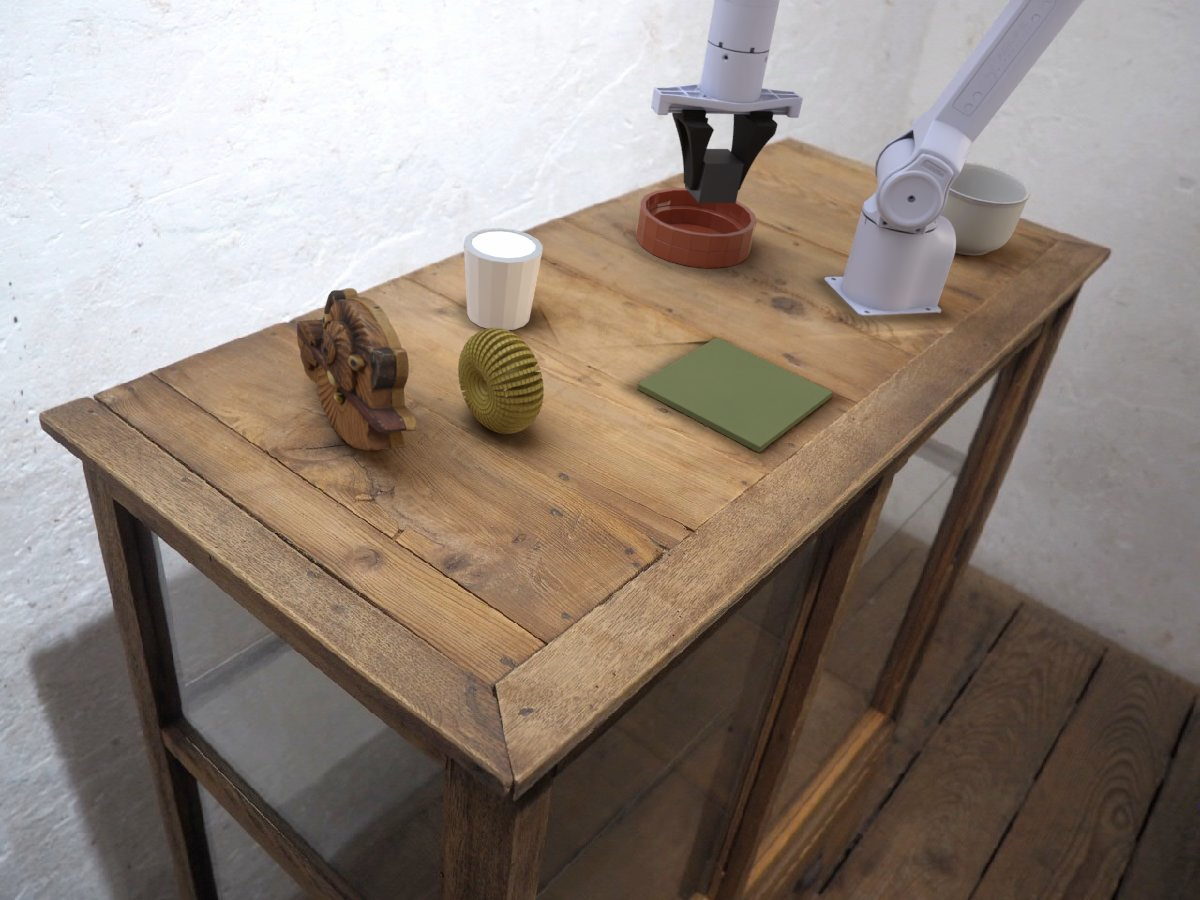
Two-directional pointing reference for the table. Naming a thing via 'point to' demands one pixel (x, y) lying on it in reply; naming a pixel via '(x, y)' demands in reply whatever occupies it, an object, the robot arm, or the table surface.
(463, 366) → the sculpture
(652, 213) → the bowl
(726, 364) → the pad
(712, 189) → the block
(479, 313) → the white cylinder
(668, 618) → the table surface
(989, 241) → the teacup
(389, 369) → the wooden carving
